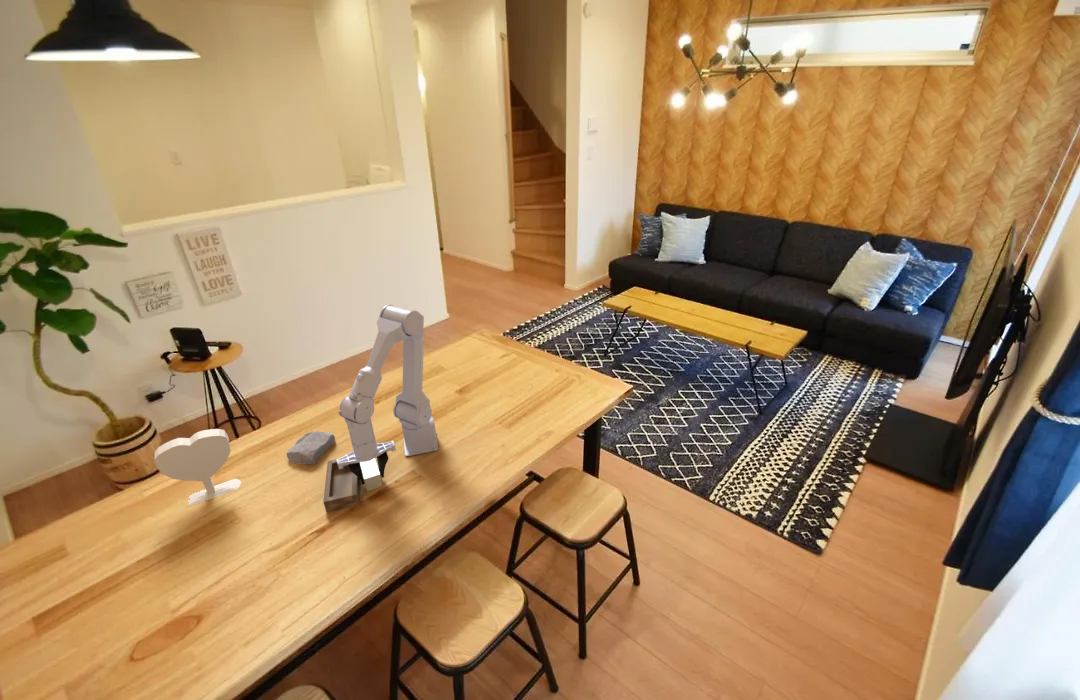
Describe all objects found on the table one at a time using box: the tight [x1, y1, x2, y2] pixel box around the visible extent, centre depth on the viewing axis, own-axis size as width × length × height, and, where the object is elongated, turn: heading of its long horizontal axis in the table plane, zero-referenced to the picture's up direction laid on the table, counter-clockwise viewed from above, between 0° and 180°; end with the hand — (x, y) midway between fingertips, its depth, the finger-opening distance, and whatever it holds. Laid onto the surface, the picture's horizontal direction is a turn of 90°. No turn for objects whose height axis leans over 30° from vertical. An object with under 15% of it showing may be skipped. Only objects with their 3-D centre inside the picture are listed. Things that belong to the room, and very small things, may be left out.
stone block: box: [286, 430, 336, 465], centre depth 143 cm, size 12×5×10 cm
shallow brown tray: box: [323, 458, 361, 513], centre depth 130 cm, size 8×16×4 cm, turn 17°
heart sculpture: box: [154, 428, 242, 505], centre depth 125 cm, size 16×5×18 cm, turn 124°
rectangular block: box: [360, 458, 384, 492], centre depth 134 cm, size 4×12×4 cm, turn 27°
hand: (372, 478), depth 131 cm, fingers open, 4 cm apart
